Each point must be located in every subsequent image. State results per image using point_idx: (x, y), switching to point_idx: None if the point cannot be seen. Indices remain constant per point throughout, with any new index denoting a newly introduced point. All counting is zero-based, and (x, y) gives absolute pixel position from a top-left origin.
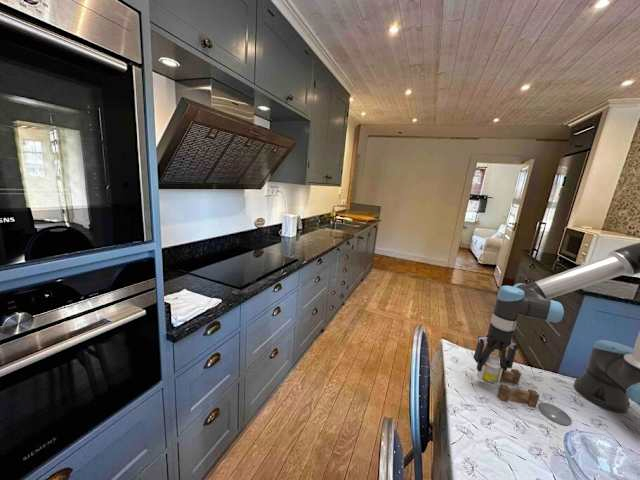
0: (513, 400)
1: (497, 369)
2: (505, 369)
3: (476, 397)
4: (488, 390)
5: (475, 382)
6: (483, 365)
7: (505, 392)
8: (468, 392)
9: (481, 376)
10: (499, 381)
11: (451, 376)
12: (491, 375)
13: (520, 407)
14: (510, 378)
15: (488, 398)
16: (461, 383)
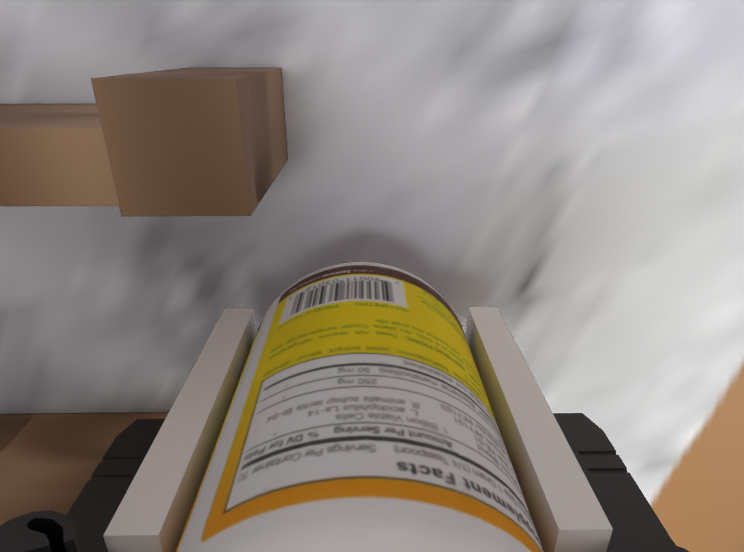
0: (94, 104)
1: (285, 483)
2: (32, 538)
3: (608, 40)
4: (362, 231)
5: (465, 326)
6: (607, 537)
7: (205, 75)
8: (669, 115)
9: (504, 342)
10: (213, 329)
11: (720, 347)
12: (394, 346)
13: (31, 6)
14: (20, 462)
15: (435, 70)
16: (663, 263)
